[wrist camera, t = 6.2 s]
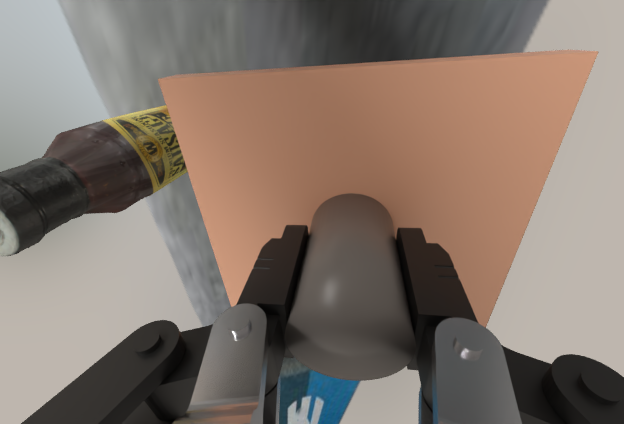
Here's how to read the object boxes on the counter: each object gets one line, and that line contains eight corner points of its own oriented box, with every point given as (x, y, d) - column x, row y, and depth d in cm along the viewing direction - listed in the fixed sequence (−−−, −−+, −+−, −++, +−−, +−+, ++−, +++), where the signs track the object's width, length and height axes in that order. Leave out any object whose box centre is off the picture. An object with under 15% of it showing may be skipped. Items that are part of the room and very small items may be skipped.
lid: (178, 74, 10) (-15, 115, 5) (568, 49, 8) (940, 71, 3) (241, 295, 16) (186, 420, 11) (475, 310, 14) (543, 469, 9)
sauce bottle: (232, 147, 31) (78, 269, 14) (188, 165, 33) (6, 292, 16) (199, 86, 28) (-44, 148, 11) (153, 110, 30) (-113, 194, 13)
